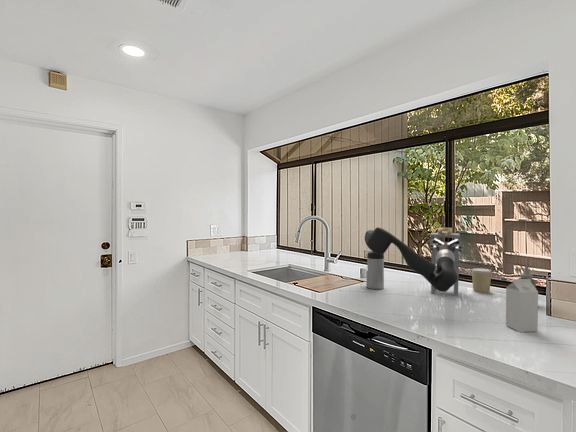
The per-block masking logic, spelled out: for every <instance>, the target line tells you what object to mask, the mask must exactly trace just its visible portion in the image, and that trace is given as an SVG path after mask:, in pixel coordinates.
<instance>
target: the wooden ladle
mask: <svg viewBox="0 0 576 432" xmlns="http://www.w3.org/2000/svg"><path fill="white" fill-rule="evenodd" d="M437 233H438V234H442V236H447V234H452V233H453V228H452V227H437Z"/></svg>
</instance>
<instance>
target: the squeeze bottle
mask: <svg viewBox="0 0 576 432" xmlns="http://www.w3.org/2000/svg"><path fill="white" fill-rule="evenodd" d="M519 275H520V277H518V279H531V283H532V284H533V285H534V287H535V288H536V289H537V287H536V282H535V279H534V278H533V274H531V273H530V269H529V267H528V266H524V268H523V272H522V273H520V274H519Z"/></svg>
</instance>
